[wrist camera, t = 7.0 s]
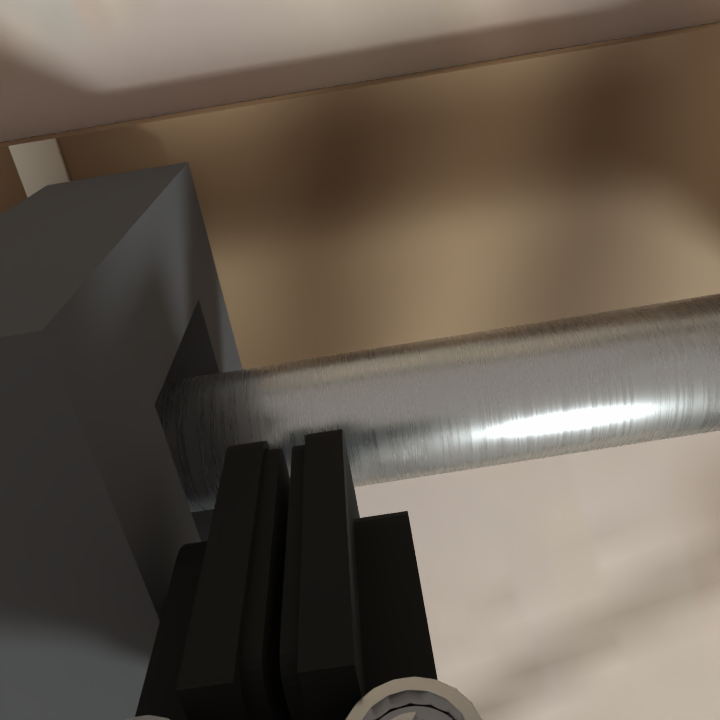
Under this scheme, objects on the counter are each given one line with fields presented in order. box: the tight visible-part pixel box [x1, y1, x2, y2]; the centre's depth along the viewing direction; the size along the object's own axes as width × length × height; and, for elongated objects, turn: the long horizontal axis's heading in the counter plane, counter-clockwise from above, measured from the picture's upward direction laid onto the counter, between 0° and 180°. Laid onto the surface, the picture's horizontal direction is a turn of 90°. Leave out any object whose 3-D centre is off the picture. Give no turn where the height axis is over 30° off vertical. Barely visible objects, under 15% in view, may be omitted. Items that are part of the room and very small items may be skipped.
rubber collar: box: [0, 162, 242, 720], centre depth 12 cm, size 3×8×8 cm, turn 9°
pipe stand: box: [0, 22, 720, 369], centre depth 14 cm, size 29×10×7 cm, turn 99°
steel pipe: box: [155, 294, 720, 512], centre depth 12 cm, size 27×3×3 cm, turn 99°
